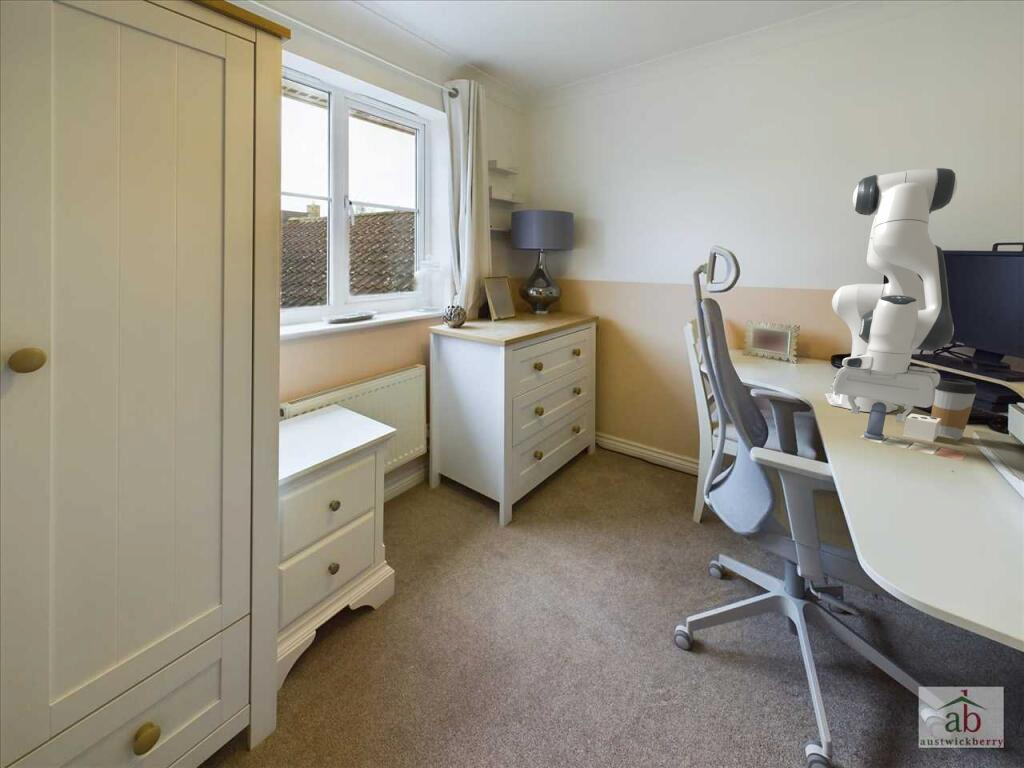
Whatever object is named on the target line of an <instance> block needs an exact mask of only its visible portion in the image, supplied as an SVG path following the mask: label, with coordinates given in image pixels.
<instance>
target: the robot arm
mask: <svg viewBox="0 0 1024 768" xmlns="http://www.w3.org/2000/svg"><path fill="white" fill-rule="evenodd" d="M855 187H856V188H855V189H854V191H853V195H852V205H853V208H854V211H855V212H856V213H857V214H859V215H862V216H869V217H870V216H871V215H874V217H873V221H872V225H871V229H870V233H869V238H868V239H869V240H868V246H867V252H866V253H867V254H866V261H865V262H866V265H867V266H868V267H869V268H870V269H871V270H873V271H874V272H877V273H880V274H882V275H884V276H885V277H886V278H887V280H888V282H887V283H853V284H846V285H842V286H840V287H839V288H838V289H837V290H835V292H834V294H833V297H832V298H831V307H832V310H833V312H834V313H835V314H836V315H837V316H838V317H840V318H841V319H842V320H843V322H845V324H846V325H847V327H848V328H849V331H850V333H851V342H852V343H851V353H850V356H848V357H845V358H843V359H842V361H841V365H842V366H843V367H840V368H839V370H838V371H837V373H836V375H835V378H834V382H832V383H831V385H830V390H832V391H833V392H827V393H824V397H825V396H826V397H825V399H826V398H827V399H826V400H827V402H828V403H829V405H830V406H834V407H839V408H843V409H844V408H845V409H847V410H848V409H849V410H850V414H854V415H859V414H860V412H864V413H865V412H866V413H870V410H871V409H872V405H873V404H874V403H876V402H882V403H884V404H885V405H886V407H887V409H886V413H890V412H893V411H898V410H899V406H898V405H895V404H900V405H904V406H903V408H904V410H905V411H904V412H903V413H897V414H896V419H895V422H897V423H904V424H905V422H906V417H907V415H908V414H909V413H910V412H911V411H912V410H913V409H914V407H917V408H918V407H919V408H930V407H932V405H933V404H934V401H935V387H937V386H938V385H939V382H940V379H941V374H940V373H939V371H937V370H934V368H931V367H921V366H914V365H911V359H912V355H913V349H915V350H920V351H926V352H927V351H928V352H934V351H936V350H939V349H942V348H943V347H946V345H949V343H951V341H952V339H953V336H954V331H955V329H954V322H953V321H954V320H953V316H952V312H951V305H950V298H949V297H950V296H949V288H948V277H947V268H946V262H945V257H944V253H943V249H942V248H941V247H940V246H938V245H935V244H934V242H933V241H932V240H931V239H932V238H931V237H930V235H929V234H930V233H929V222H930V215H931V214H932V212H936V211H939V210H941V209H943V208H944V207H946V206H948V205H949V204H950V202H951V201H952V199H953V198H954V196H955V194H956V192H957V189H958V180H957V176H956V173H955V171H954V170H953V169H950V168H944V167H943V168H942V167H941V168H940V167H937V168H936V169H935V168H934V169H933V168H930V169H923V168H922V169H909V170H908V169H906V170H905V171H894V172H890V173H885V174H879V175H877V174H873V175H869V176H866V177H863V178H862V179H861V180H860V181H858V185H857V186H855ZM897 409H898V410H897Z"/></svg>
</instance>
